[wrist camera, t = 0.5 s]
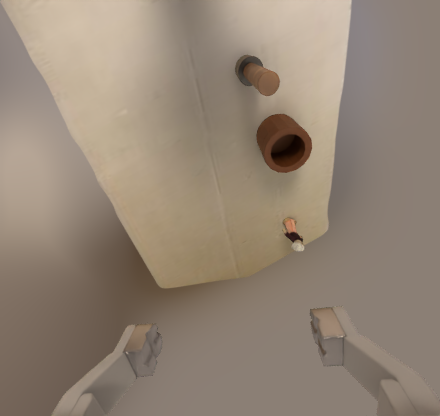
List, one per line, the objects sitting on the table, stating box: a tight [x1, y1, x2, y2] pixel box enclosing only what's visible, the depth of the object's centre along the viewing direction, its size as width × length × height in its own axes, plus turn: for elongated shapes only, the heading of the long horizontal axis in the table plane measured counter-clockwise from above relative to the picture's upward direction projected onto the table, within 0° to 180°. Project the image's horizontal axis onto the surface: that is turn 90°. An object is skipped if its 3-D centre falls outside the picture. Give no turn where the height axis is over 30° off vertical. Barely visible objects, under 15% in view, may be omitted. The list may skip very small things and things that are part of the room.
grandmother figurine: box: [282, 218, 304, 252], centre depth 68 cm, size 8×4×13 cm, turn 72°
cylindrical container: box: [257, 114, 312, 173], centre depth 52 cm, size 10×10×11 cm
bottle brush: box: [235, 55, 280, 96], centre depth 38 cm, size 5×5×24 cm
